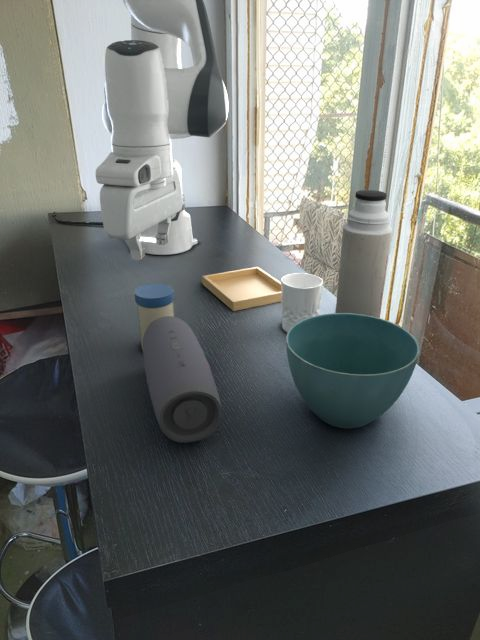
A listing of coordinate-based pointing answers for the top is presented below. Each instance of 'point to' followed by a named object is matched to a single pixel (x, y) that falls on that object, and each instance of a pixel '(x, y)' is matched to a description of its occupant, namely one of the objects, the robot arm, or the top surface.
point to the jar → (152, 316)
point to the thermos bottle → (364, 255)
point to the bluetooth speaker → (180, 381)
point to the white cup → (299, 298)
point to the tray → (244, 288)
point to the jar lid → (154, 295)
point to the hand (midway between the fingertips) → (151, 251)
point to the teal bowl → (350, 366)
